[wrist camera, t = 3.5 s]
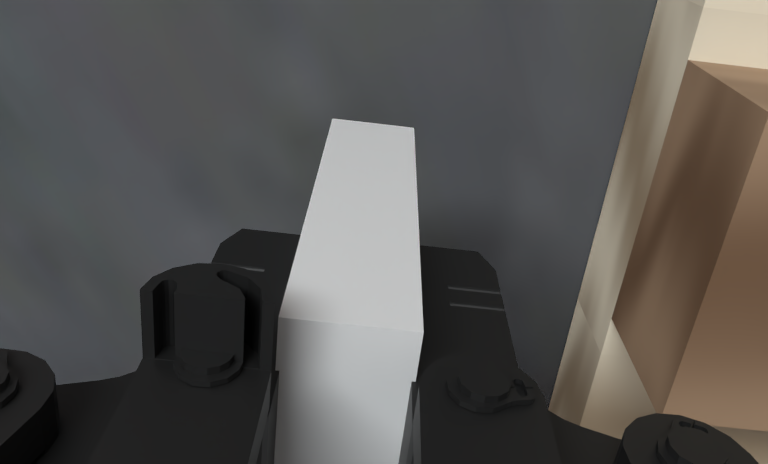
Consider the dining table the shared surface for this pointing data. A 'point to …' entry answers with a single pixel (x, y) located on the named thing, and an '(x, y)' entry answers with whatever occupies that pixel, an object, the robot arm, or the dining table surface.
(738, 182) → the walnut block
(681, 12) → the platform
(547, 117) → the dining table surface
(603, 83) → the dining table surface
